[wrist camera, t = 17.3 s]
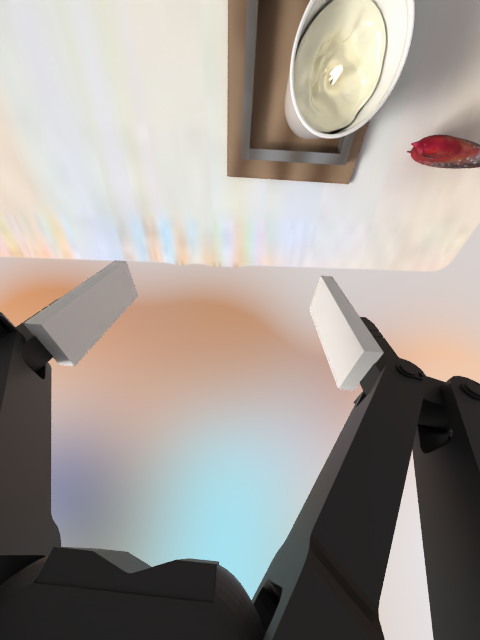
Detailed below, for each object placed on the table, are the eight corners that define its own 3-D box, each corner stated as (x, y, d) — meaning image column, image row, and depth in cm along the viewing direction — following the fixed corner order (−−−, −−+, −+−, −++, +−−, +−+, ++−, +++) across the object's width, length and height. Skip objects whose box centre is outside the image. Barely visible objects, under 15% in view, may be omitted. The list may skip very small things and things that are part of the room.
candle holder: (371, 82, 25) (440, 33, 15) (312, 163, 30) (337, 162, 21) (319, 6, 22) (366, -113, 12) (263, 111, 27) (267, 83, 18)
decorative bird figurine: (385, 134, 28) (433, 124, 21) (499, 153, 29) (588, 150, 21) (374, 159, 30) (414, 158, 22) (482, 177, 31) (558, 182, 23)
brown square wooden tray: (227, 176, 33) (225, 177, 30) (229, -64, 20) (225, -99, 17) (346, 183, 32) (354, 185, 30) (424, -56, 20) (451, -92, 17)
